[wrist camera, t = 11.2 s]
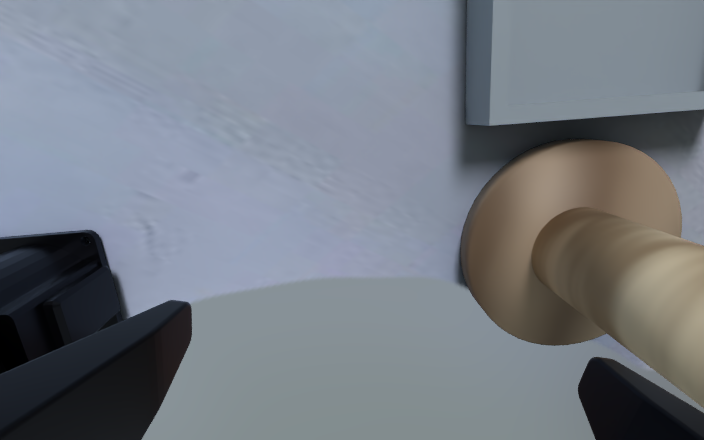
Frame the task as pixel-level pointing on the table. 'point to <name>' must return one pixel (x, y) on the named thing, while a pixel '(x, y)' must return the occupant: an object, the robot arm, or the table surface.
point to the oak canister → (631, 288)
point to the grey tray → (582, 59)
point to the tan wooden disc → (537, 210)
